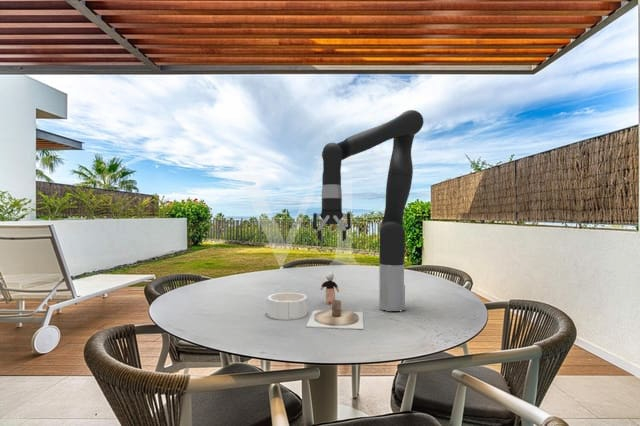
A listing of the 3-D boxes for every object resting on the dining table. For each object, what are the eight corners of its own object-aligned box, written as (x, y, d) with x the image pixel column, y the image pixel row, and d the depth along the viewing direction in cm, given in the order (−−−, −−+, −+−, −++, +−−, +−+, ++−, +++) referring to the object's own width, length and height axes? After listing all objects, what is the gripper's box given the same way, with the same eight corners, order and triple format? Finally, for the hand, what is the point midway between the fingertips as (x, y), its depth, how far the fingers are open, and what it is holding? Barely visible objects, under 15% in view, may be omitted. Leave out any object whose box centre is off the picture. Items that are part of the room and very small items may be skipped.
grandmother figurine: (339, 302, 139) (339, 271, 139) (339, 305, 135) (339, 273, 136) (320, 302, 140) (320, 271, 140) (319, 304, 136) (319, 272, 136)
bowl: (309, 309, 130) (309, 293, 130) (303, 320, 116) (303, 302, 116) (273, 307, 131) (273, 292, 131) (263, 318, 117) (263, 301, 117)
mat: (362, 313, 124) (362, 312, 124) (363, 329, 106) (363, 328, 106) (313, 311, 126) (313, 310, 126) (306, 327, 108) (306, 326, 108)
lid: (358, 313, 123) (358, 296, 123) (358, 326, 108) (358, 307, 108) (317, 311, 125) (317, 295, 125) (311, 324, 110) (311, 306, 110)
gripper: (350, 197, 131) (350, 240, 131) (313, 198, 132) (313, 240, 132) (350, 196, 124) (350, 241, 124) (311, 197, 125) (311, 241, 125)
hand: (331, 240), depth 128 cm, fingers open, 8 cm apart
